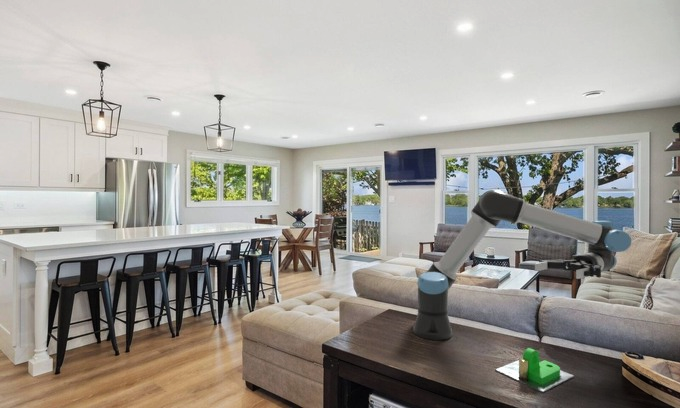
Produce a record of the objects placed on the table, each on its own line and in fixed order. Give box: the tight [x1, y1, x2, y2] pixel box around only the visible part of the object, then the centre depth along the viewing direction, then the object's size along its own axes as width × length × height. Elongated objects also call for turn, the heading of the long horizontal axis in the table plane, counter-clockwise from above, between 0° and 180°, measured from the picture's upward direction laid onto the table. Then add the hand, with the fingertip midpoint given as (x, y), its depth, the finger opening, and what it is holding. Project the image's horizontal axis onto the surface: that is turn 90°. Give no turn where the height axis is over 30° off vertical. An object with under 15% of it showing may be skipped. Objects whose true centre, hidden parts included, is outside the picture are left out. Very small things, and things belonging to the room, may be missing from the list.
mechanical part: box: [522, 347, 561, 385], centre depth 111 cm, size 12×6×8 cm, turn 121°
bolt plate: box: [495, 358, 575, 393], centre depth 113 cm, size 15×17×6 cm
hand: (555, 270), depth 123 cm, fingers open, 13 cm apart
